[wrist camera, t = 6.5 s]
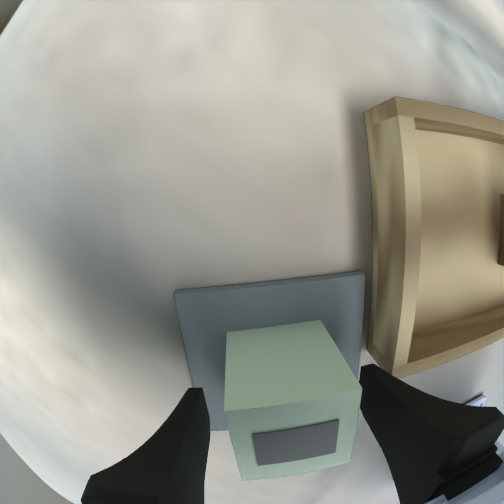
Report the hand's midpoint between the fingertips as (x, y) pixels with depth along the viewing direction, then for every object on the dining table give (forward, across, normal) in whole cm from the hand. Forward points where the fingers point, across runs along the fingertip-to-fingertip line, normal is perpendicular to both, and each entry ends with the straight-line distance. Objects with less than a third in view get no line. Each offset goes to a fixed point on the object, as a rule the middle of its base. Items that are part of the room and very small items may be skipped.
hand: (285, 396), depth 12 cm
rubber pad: (+3, 0, 0) cm, 3 cm away
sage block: (+2, 0, 0) cm, 2 cm away
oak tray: (+3, -14, -6) cm, 15 cm away
